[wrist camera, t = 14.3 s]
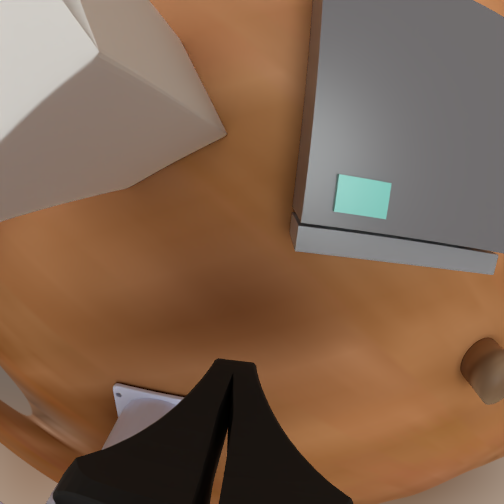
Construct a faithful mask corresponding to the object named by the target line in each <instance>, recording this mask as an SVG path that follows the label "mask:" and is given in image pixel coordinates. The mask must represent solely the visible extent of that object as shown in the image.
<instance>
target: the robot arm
mask: <svg viewBox="0 0 504 504" xmlns="http://www.w3.org/2000/svg"><path fill="white" fill-rule="evenodd" d="M113 393H114V398H115V403H116V408H117V413H118V420H117V421H116V423H115V425H114V427H113V429H112V431H111V432H110V434H109V436H108V438H107V440H106V442H105V444H104V446H103V447H102V449H101V450H100V451H97V452H94V453H91V454H88V455H85V456H81V457H77V458H76V459H75V460H74V461H73V463H72V464H71V465H70V466H69V467H68V469H67V470H66V472H65V473H64V474H63V476H62V478H61V480H60V481H59V483H58V484H57V486H56V487H55V489H54V490H53V492H52V494H51V495H50V497H49V499H48V501H47V503H46V504H210V498H211V492H212V486H213V481H214V477H215V473H216V469H217V466H218V462H219V459H220V455H221V451H222V448H223V444H224V440H225V437H226V433H227V429H228V443H227V460H226V466H225V472H224V477H223V483H222V489H221V494H220V500H219V504H353V502H352V499H351V498H350V497H348V496H347V495H346V494H344V493H343V492H342V491H340V490H339V489H337V488H336V487H335V486H333V485H332V484H331V483H330V482H328V481H327V480H326V479H325V478H324V477H323V476H322V475H321V474H320V473H319V472H317V471H316V470H315V469H314V468H313V466H312V465H311V464H310V463H309V462H308V461H307V460H306V459H305V458H304V457H303V456H302V455H301V453H300V452H299V451H298V450H297V449H296V447H295V446H294V445H293V443H292V442H291V441H290V440H289V438H288V437H287V435H286V434H285V432H284V431H283V429H282V428H281V426H280V424H279V423H278V421H277V419H276V417H275V416H274V414H273V412H272V410H271V408H270V406H269V404H268V402H267V399H266V397H265V395H264V392H263V390H262V387H261V384H260V381H259V378H258V374H257V369H256V365H255V364H254V363H251V362H242V361H234V360H226V359H219V358H218V359H216V360H215V361H214V363H213V364H212V366H211V367H210V369H209V370H208V372H207V373H206V374H205V375H204V377H203V378H202V379H201V380H200V381H199V383H198V384H197V385H196V386H195V387H194V388H193V389H192V390H191V392H190V393H189V394H188V395H187V396H185V397H179V396H174V395H169V394H164V393H159V392H154V391H149V390H145V389H140V388H136V387H132V386H127V385H123V384H119V383H116V384H115V385H114V386H113ZM119 393H120V394H119ZM0 504H3V503H2V502H0Z"/></svg>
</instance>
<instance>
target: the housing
mask: <svg viewBox="0 0 504 504" xmlns="http://www.w3.org/2000/svg"><path fill="white" fill-rule="evenodd" d="M292 207H293V209H294V211H295V213H296V214H297V216H298V218H299V220H300V222H301V223H307V224H315V225H322V226H330V227H338V228H345V229H353V230H360V231H367V232H374V233H381V234H388V235H395V236H402V237H408V238H415V239H421V240H428V241H434V242H440V243H446V244H452V245H458V246H464V247H470V248H476V249H482V250H488V251H493V252H499V253H504V17H503V16H501V15H499V14H498V13H496V12H494V11H492V10H490V9H489V8H487V7H485V6H483V5H481V4H479V3H477V2H475V1H473V0H313V3H312V17H311V31H310V43H309V55H308V67H307V78H306V89H305V99H304V109H303V119H302V129H301V138H300V147H299V156H298V165H297V173H296V182H295V190H294V198H293V206H292Z"/></svg>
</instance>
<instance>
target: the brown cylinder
mask: <svg viewBox="0 0 504 504" xmlns="http://www.w3.org/2000/svg"><path fill="white" fill-rule="evenodd" d="M461 373H462V374H463V376H464V377H465V378H466V380H467V381H468V382H469V384H470V385H471V386H472V388H473V389H474V390H475V392H476V393H477V394H478V396H479V397H480V398H481V400H482V401H483V402H484V403H485V404H488V405H490V404H494V403H497V402H498V401H500V400H502V399H503V398H504V349H503V348H501V347H500V346H499V345H498V344H497V343H496V342H495V341H494V340H493V339H491V338H484V339H482V340H480V341H478V342H476V343H475V344H474V345H473V346H472V347H471V348H470V349H469V350H468V351H467V353H466V354H465V356H464V358H463V360H462V363H461Z"/></svg>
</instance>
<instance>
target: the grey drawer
mask: <svg viewBox="0 0 504 504" xmlns="http://www.w3.org/2000/svg"><path fill="white" fill-rule="evenodd" d="M290 236H291V239H292V243H293V246H294V249H295V251H298V252H307V253H316V254H324V255H333V256H341V257H350V258H358V259H367V260H375V261H384V262H392V263H400V264H409V265H417V266H425V267H433V268H442V269H450V270H458V271H466V272H474V273H482V274H490V275H493V274H494V270H495V266H496V263H497V259H498V255H497V254H495V253H493V252H491V251H488V250H482V249H476V248H470V247H464V246H458V245H452V244H446V243H440V242H434V241H428V240H421V239H415V238H408V237H402V236H395V235H388V234H381V233H374V232H367V231H360V230H353V229H345V228H338V227H330V226H322V225H315V224H307V223H301V222H300V220H299V218H298V216H297V214H296V213H295V212H292V216H291V224H290Z"/></svg>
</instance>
